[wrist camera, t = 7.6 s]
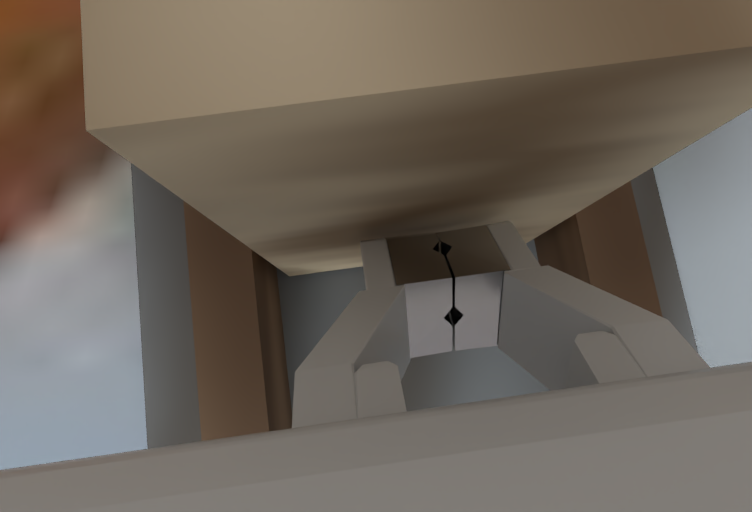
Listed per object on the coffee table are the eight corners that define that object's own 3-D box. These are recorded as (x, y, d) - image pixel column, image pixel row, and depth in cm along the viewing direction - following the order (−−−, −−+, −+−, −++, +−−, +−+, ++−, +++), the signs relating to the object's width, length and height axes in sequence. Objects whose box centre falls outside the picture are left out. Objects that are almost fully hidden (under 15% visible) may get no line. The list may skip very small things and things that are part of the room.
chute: (178, 689, 13) (96, 839, 9) (131, -61, 17) (59, -179, 13) (735, 599, 14) (881, 704, 10) (566, -111, 18) (621, -239, 14)
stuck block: (289, 276, 14) (85, 130, 4) (265, 57, 15) (60, -474, 5) (525, 244, 14) (880, 29, 4) (483, 30, 15) (688, -530, 5)
